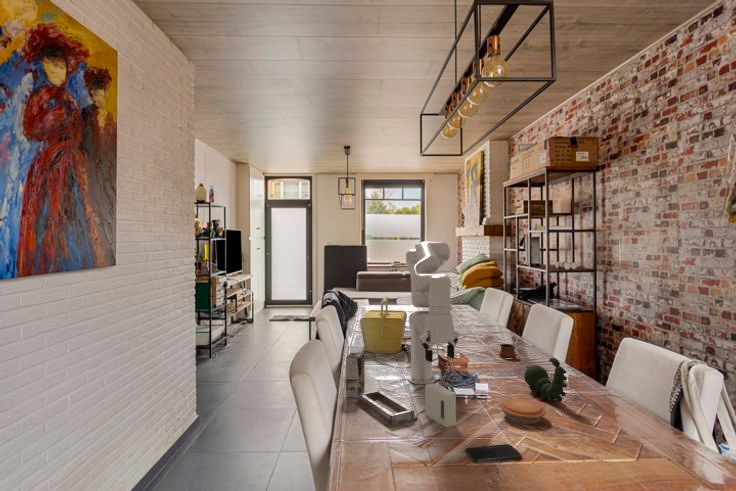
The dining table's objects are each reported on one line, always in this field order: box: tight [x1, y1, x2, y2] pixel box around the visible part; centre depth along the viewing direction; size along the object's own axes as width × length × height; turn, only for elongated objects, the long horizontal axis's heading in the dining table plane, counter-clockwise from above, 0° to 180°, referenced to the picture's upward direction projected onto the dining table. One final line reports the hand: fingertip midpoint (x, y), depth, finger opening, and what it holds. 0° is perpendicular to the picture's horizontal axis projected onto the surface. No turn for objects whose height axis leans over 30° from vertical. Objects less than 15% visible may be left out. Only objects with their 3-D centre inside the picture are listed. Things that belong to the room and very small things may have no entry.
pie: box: [499, 398, 547, 425], centre depth 150 cm, size 15×16×5 cm
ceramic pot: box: [498, 343, 517, 359], centre depth 230 cm, size 18×18×7 cm
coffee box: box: [345, 352, 366, 399], centre depth 175 cm, size 9×6×16 cm
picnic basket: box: [359, 295, 408, 354], centre depth 252 cm, size 29×26×30 cm
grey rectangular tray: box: [355, 389, 418, 428], centre depth 156 cm, size 12×24×4 cm, turn 29°
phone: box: [464, 443, 523, 464], centre depth 124 cm, size 8×1×15 cm
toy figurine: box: [523, 357, 568, 403], centre depth 171 cm, size 9×19×25 cm
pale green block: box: [424, 382, 457, 428], centre depth 148 cm, size 4×12×11 cm, turn 29°
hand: (440, 359), depth 148 cm, fingers open, 9 cm apart
